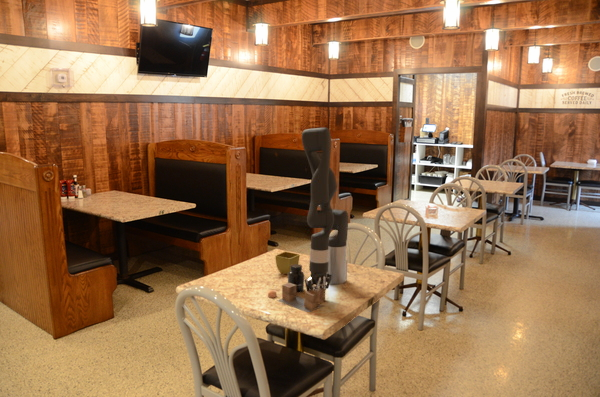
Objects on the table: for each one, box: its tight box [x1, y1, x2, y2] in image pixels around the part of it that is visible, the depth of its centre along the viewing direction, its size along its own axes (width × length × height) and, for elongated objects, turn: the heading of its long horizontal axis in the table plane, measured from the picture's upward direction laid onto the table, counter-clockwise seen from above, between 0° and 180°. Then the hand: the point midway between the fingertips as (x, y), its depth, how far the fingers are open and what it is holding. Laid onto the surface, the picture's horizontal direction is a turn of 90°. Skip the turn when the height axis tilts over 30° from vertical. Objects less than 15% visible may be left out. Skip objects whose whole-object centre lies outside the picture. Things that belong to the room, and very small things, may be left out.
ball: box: [267, 289, 277, 299], centre depth 200 cm, size 4×4×4 cm
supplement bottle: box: [287, 263, 305, 294], centre depth 206 cm, size 7×7×12 cm
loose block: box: [313, 288, 326, 304], centre depth 195 cm, size 4×4×6 cm
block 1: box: [281, 282, 297, 302], centre depth 196 cm, size 4×4×6 cm
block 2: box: [304, 290, 320, 311], centre depth 188 cm, size 4×4×6 cm
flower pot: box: [274, 251, 301, 276], centre depth 232 cm, size 9×9×9 cm
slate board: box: [277, 295, 324, 313], centre depth 193 cm, size 9×17×1 cm, turn 46°
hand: (317, 300), depth 195 cm, fingers closed on loose block, 4 cm apart
